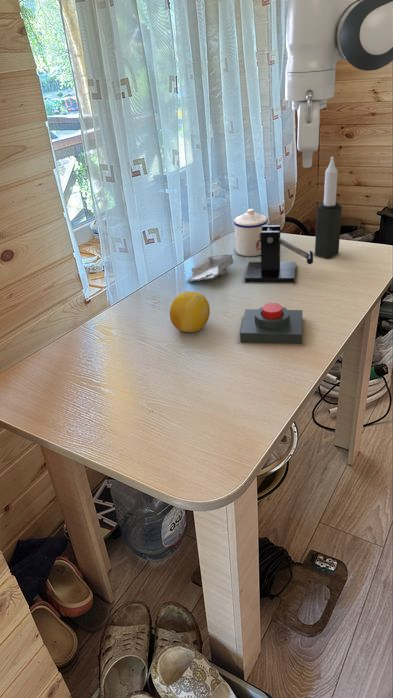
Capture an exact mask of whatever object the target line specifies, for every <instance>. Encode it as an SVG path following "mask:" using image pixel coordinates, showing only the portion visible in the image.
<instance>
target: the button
mask: <svg viewBox="0 0 393 698" xmlns="http://www.w3.org/2000/svg"><path fill="white" fill-rule="evenodd" d="M261 307H262V316H263V317H264V318H267V319H277V318H280V317H282V307H283V305H281V304H279V303H277V302H269V303H265V304H263V305H262V306H261Z"/></svg>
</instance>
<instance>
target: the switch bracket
mask: <svg viewBox="0 0 393 698" xmlns="http://www.w3.org/2000/svg"><path fill="white" fill-rule="evenodd" d="M268 228H270V229H272V230H274V231H267V229H268ZM280 238H281V224H274V225H273V224H272V225H270V224H269V225H268V224H267V225H262V231H261V255H260V261H248V264H247V267H246V271H245V275H244V283H265V284H266V283H268V284H269V283H270V284H271V283H273V284H274V283H275V284H277V283H280V284H281V283H282V284H284V283H285V284H289V283H290V284H291V283H293V284H295V281H296V265H297V264H296V261H281V244H280Z"/></svg>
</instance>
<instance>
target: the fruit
mask: <svg viewBox="0 0 393 698" xmlns="http://www.w3.org/2000/svg"><path fill="white" fill-rule="evenodd" d="M210 313H211V307H210V303H209V300H208V299H207V298H206V296H204V295H203V293H200V292H198V291H190V290H187V291H184V292H181V293H179V294H178V295H176V297H174V299H173V300H172V302H171V305H170V308H169V318H170V322H171V324H172V325H173V327H174V328H176V329H177V330H179V331H180V332H185V333H197V332H199V331H200V330H202V329H203V328H204V327H205V326H206V325H207V323H208V322H209V321H208V320H209V318H210Z"/></svg>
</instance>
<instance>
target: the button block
mask: <svg viewBox="0 0 393 698" xmlns="http://www.w3.org/2000/svg"><path fill="white" fill-rule="evenodd" d="M262 307H263V306H261V307H258V308H257V309H256V308H255V309H254V308H252V309H251V308H246V309H245V310H244V314H243V318H242V323H241V328H240V332H239V336H240V343H252V344H253V343H255V344H256V343H257V344H287V345H288V344H289V345H302V344H303V314H304V313H303V312H304V311H303V310H302V309H287V307H285V306H282V317H280V318H277V319H267V318H264V317H263V316H262Z"/></svg>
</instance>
